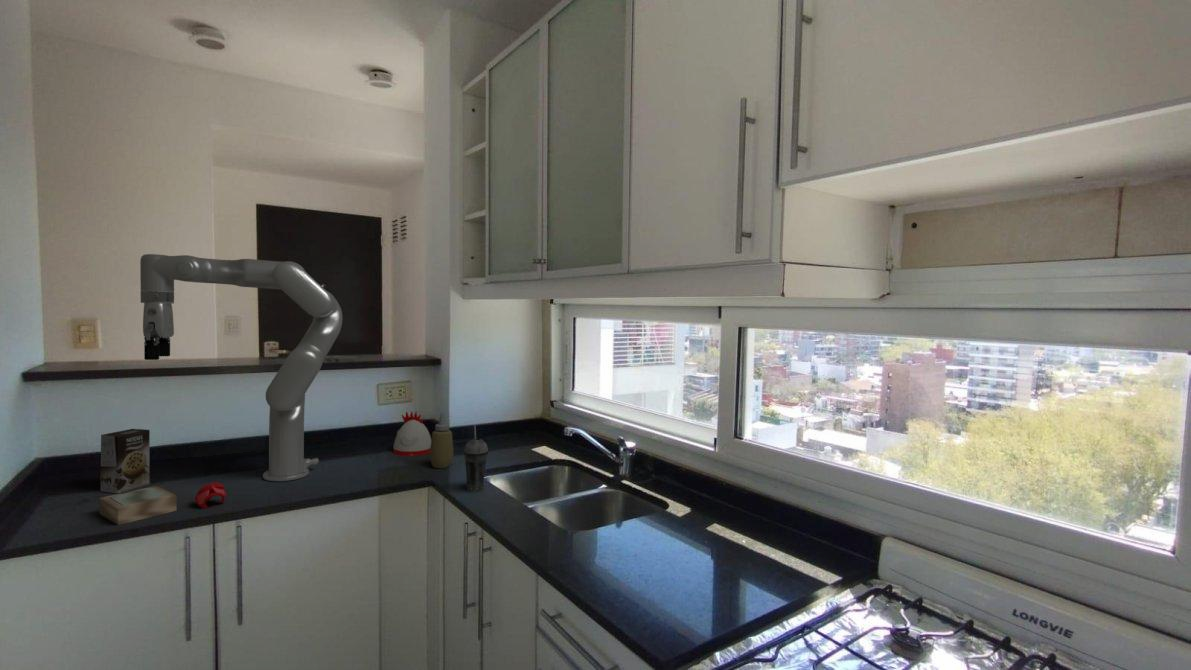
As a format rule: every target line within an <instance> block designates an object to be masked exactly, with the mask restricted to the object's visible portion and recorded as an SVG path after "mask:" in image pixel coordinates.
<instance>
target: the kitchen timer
mask: <svg viewBox="0 0 1191 670" xmlns="http://www.w3.org/2000/svg"><path fill="white" fill-rule="evenodd" d="M413 414H414V415H413ZM421 415H422V414H419V415H418V413H417V411H415V412H414V413H413V411H411V412H410V415H409V412H408V411H406V412H405V416H404V415H403V414H401V418H402V420H403V422H404V424H403V425H402V426H401V427H400V428H399V429H398V431H396V435H395V439H394V442H393V446H392V447H393V450H392V451H393V454H395V455H398V456H405V457H413V456H416V457H417V456H423V455H427V454H430V448H431V440H432V436H431V434H430V432H429V429H428V428H427V427H426V425H425V424H424V423H423V422H424V420H425V418H426V417H423V418H422V420H421ZM427 450H428V451H427Z"/></svg>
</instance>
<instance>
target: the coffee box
mask: <svg viewBox="0 0 1191 670" xmlns="http://www.w3.org/2000/svg"><path fill="white" fill-rule="evenodd" d="M147 485H150V429H141V428H130V429H123V430H121V431H115V432H108V433H104V434H100V492H105V493H110V494H121V493H125V492H129V491H132V490H134V489H137V488H141V487H144V486H147Z"/></svg>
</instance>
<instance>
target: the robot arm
mask: <svg viewBox="0 0 1191 670" xmlns="http://www.w3.org/2000/svg"><path fill="white" fill-rule="evenodd" d="M139 262H140V263H139V265H140V267H139V268H140V269H139V270H140V274H139V275H140V303H141V304H143V314H142V315H143V316H142V333H143V339H144V342H143V345H144V348H143V349H144V350H143V351H144V353H143V356H144V360H146V361H158V360H160V357H170V356H171V337H173V336H174V335H175V326H174V313H173V312H174V311H173V304H175V281H180V282H185V283H186V282H187V283H200V284H202V283H204V284H218V285H229V286H231V285H233V286H236V287H241V288H242V287H243V288H257V289H270V290H281V291H282V292H284V294H286V295H287V296H288V297H289V298H290V299H291V300H292V301H293V302H295V303H296V304H297V305H298V306H299V307H300V308H301V309H302V310H303V311H305V312H306V313H307V314H308V315H310V316H312V317H313V318H312V322H311V324H310V325H309V327H308V329H307V331H306V332H305V334H304V335H303V337H302V338H301V340H300V342H299V343H298V344H297V346H296V347H295V348H294V349H293V350H292V351H290V353H289V354H288V356H287V357H286V358H285V360H284V362H283V363H282V364H281V366H280V368H279V370H278V371H277V373H276V374H275V376H274V377H273V379H272V380H271V382H270V383H269V385H268V386H267V388H266V391H265V400H266V403H267V405H268V406H269V417H268V418H269V419H268V420H269V421H268V422H269V424H268V425H269V427H268V470H266V471H265V472H263V474H262V478H263V479H264V480H265V481H269V482H288V481H293V480H299V479H302V478H304V477H306V476H308V475H309V473H310V469H309V468H308V467H310V466H313V465H314V466H315V465H318V464H319V462H320V461H319V458H318V457H315V458H312V459H311V458H310V457H308V458H305V457H304V453H305V451H304V450H305V449H304V448H305V443H304V442H305V440H304V439H305V437H304V436H305V404H306V401H305V400H306V393H307V392H308V390H309V388H310V386H312V384H313V382H314V381H315V378H316V377H317V375H318V373H319V372H320V370H321V368H322V366H323V362H324V360H325V358H326V357H327V356H328V353H330V350H331V349H332V347H333V344H334V343H335V341H336V339H337V338H338V336H339V335H340V332H341V328H342V325H343V311H342V308H341V306H340V304H339V302H338V300H337V299H336V298H335V296H334V295H333V294H332V293H331V292H329V291H327V290H326V289H325V288H324V287H323V286H322V285H320V284H319V282H317V281H316V280H315V279H314V278H313V277H312V276H311V275H310V274H309V273H308V272H307V271H306V270H305V268H304V267H303V266H302V265H300V264H299V263H296V262H295V261H288V260H287V261H285V260H284V261H279V260H278V261H276V260H267V259H266V260H265V259H263V260H262V259H254V258H240V259H217V258H205V257H198V256H193V255H188V254H187V255H184V254H181V255H166V254H153V253H148V254H147V253H146V254H143V255H141V257H140V261H139Z"/></svg>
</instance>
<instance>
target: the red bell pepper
mask: <svg viewBox="0 0 1191 670" xmlns="http://www.w3.org/2000/svg"><path fill="white" fill-rule="evenodd" d="M196 493H197V494H196V495H195V496H194V501H195V503H196V505H198V506H199V507H200V508H201V509H206V508H208V505H207V504H206V503H207V502H208V501H209V500H211V499H212V498H213V497H215V496H220V497H221V504H222V505H223V504H225V499H226V497H227V494H226V490H225V486H224V485H223V484H222V483H220V482H211V483H208V484H205V485H204V486H202V487H200V489H198V491H197V492H196Z"/></svg>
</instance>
